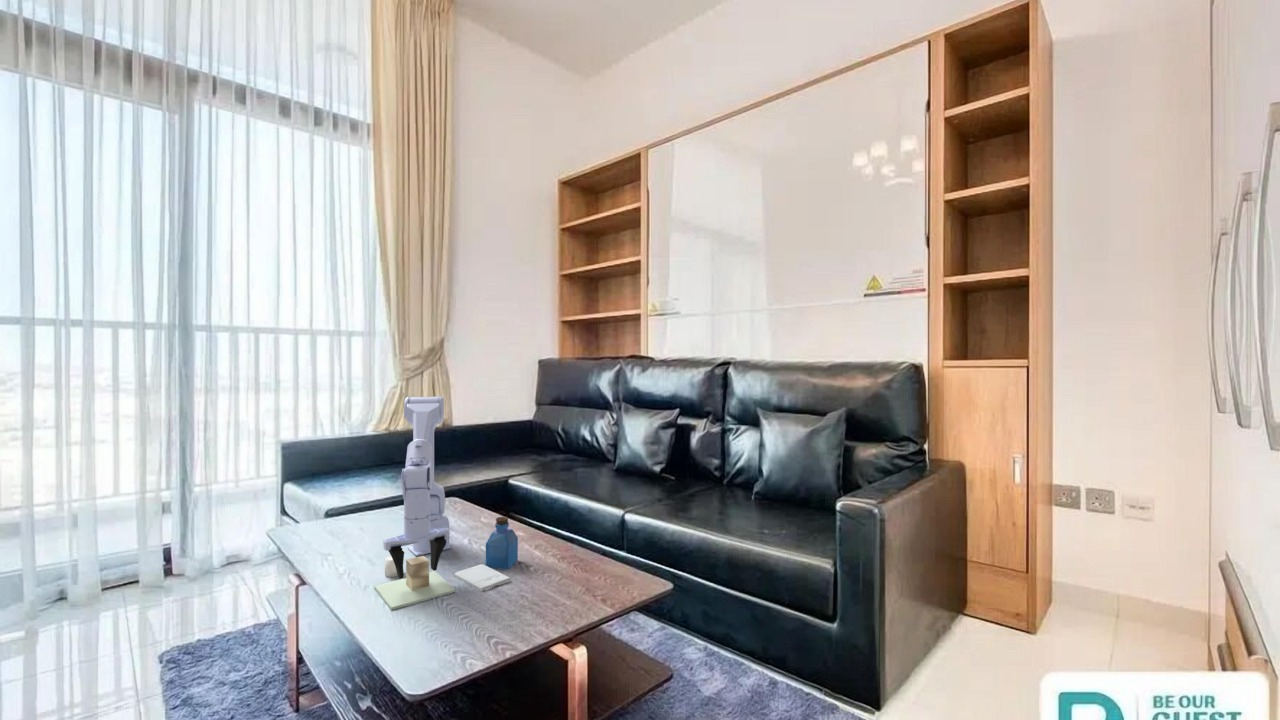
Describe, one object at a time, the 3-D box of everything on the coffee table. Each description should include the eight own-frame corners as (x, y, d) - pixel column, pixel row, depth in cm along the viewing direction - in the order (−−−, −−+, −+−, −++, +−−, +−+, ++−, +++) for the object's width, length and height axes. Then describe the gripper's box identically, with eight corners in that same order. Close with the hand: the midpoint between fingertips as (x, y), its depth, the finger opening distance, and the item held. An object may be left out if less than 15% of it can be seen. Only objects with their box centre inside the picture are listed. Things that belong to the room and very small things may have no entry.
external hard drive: (483, 569, 142) (510, 583, 133) (454, 579, 136) (481, 594, 127) (483, 563, 142) (510, 576, 133) (454, 572, 136) (481, 587, 127)
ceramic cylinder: (399, 569, 140) (399, 554, 140) (404, 574, 137) (404, 558, 137) (382, 573, 138) (382, 557, 138) (387, 578, 135) (387, 562, 135)
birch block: (423, 580, 132) (423, 555, 132) (429, 585, 129) (429, 560, 129) (406, 584, 130) (406, 559, 129) (411, 590, 126) (411, 564, 126)
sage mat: (434, 573, 138) (434, 570, 138) (455, 592, 127) (455, 589, 127) (374, 588, 129) (374, 585, 129) (391, 610, 118) (391, 607, 118)
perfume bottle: (485, 567, 142) (485, 521, 142) (495, 558, 148) (495, 514, 148) (508, 569, 141) (508, 522, 140) (517, 560, 147) (517, 515, 147)
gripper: (389, 526, 121) (389, 587, 122) (453, 514, 131) (454, 570, 131) (380, 518, 127) (381, 576, 127) (443, 507, 136) (443, 561, 136)
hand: (417, 573), depth 129 cm, fingers open, 7 cm apart
